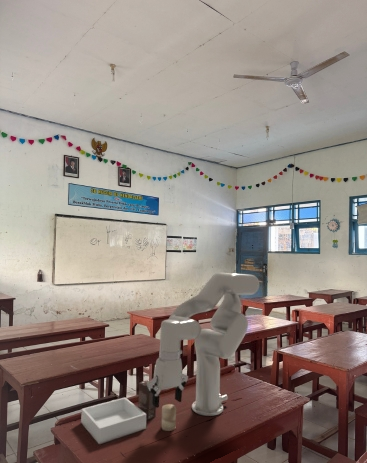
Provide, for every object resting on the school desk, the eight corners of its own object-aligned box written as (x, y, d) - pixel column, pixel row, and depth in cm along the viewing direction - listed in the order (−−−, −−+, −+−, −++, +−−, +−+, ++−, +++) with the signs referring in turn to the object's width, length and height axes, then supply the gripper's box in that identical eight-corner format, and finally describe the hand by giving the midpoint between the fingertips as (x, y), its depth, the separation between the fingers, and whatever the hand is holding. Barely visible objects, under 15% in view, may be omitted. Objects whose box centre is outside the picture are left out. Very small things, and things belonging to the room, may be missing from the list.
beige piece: (170, 422, 127) (170, 403, 127) (178, 428, 123) (178, 408, 123) (158, 426, 124) (159, 406, 124) (166, 432, 120) (167, 412, 120)
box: (156, 416, 131) (157, 384, 132) (147, 420, 128) (148, 387, 129) (146, 410, 136) (146, 379, 136) (137, 414, 132) (138, 382, 133)
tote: (124, 410, 135) (125, 397, 136) (146, 428, 122) (146, 414, 122) (81, 422, 125) (81, 408, 125) (99, 444, 112) (99, 428, 112)
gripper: (182, 349, 133) (180, 395, 131) (143, 355, 122) (140, 404, 121) (194, 354, 127) (192, 402, 125) (154, 360, 116) (151, 413, 115)
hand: (167, 403), depth 123 cm, fingers open, 9 cm apart
